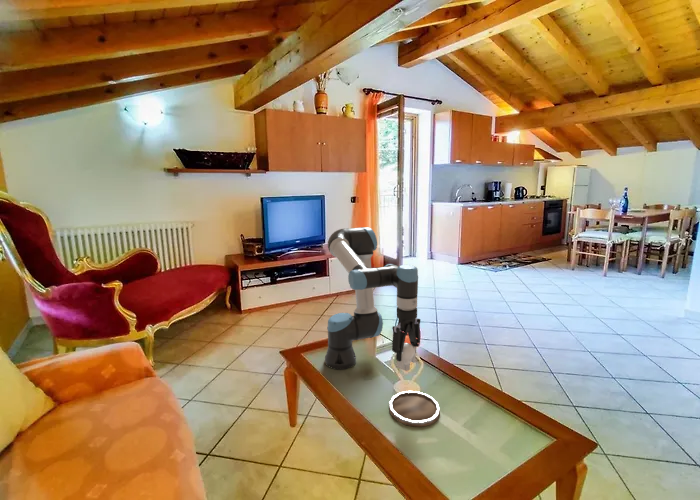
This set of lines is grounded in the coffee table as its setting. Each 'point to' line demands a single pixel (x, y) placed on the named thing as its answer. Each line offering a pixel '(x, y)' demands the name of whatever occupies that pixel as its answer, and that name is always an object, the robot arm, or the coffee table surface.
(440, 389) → the coffee table surface
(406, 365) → the lightbulb
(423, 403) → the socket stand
